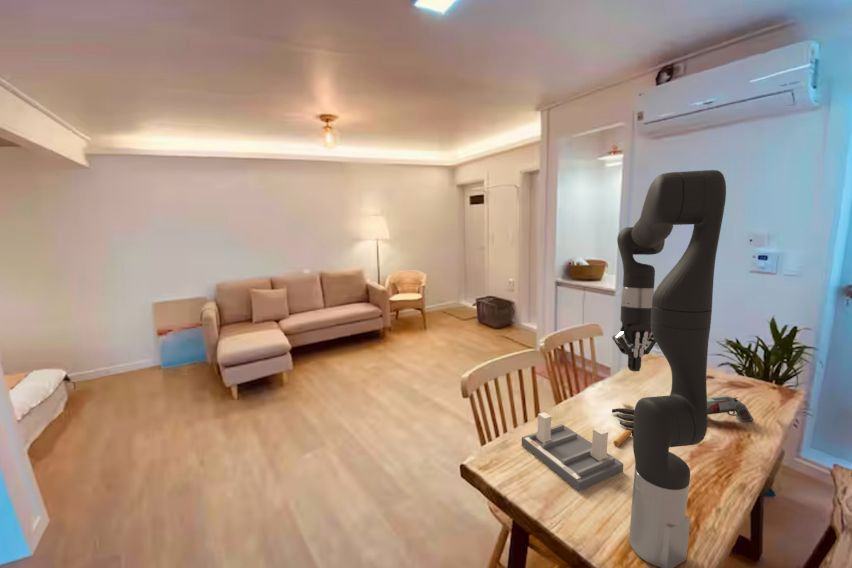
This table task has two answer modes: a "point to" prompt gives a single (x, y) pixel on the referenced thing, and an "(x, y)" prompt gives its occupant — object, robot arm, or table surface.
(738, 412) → the toy gun
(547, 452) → the switch box
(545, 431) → the far tab
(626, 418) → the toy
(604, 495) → the table surface
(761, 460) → the table surface
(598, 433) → the near tab
